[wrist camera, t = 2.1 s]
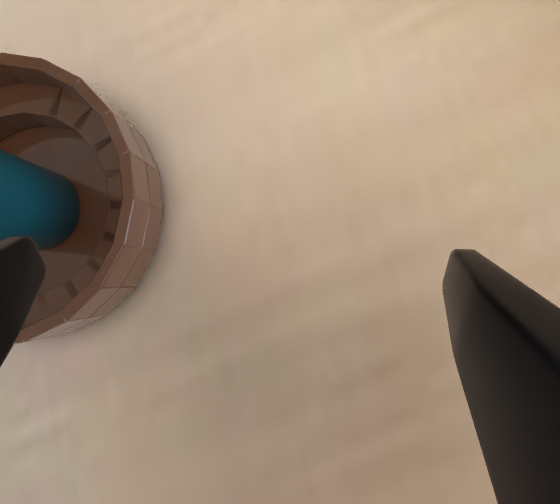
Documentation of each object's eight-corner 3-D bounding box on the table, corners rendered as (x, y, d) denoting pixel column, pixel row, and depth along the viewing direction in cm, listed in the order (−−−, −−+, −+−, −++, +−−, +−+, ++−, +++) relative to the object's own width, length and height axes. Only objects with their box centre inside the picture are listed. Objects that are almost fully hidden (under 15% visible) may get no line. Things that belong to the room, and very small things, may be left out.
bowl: (139, 356, 24) (98, 374, 19) (-89, 308, 25) (-177, 314, 20) (187, 112, 24) (159, 75, 20) (-36, 78, 26) (-110, 36, 21)
